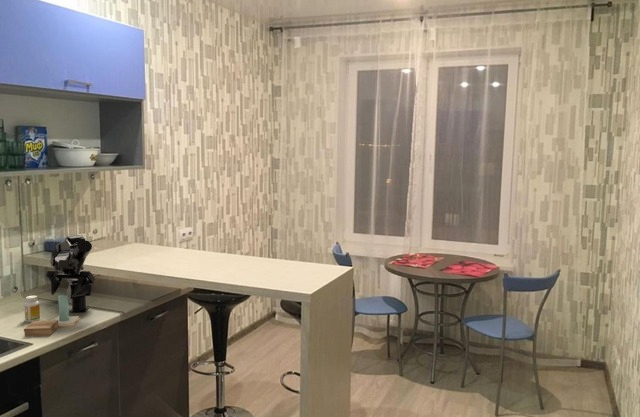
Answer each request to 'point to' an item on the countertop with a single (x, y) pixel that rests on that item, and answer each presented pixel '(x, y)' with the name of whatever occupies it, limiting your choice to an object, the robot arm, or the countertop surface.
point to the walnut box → (41, 328)
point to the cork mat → (70, 325)
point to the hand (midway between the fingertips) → (62, 294)
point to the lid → (65, 312)
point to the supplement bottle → (32, 309)
